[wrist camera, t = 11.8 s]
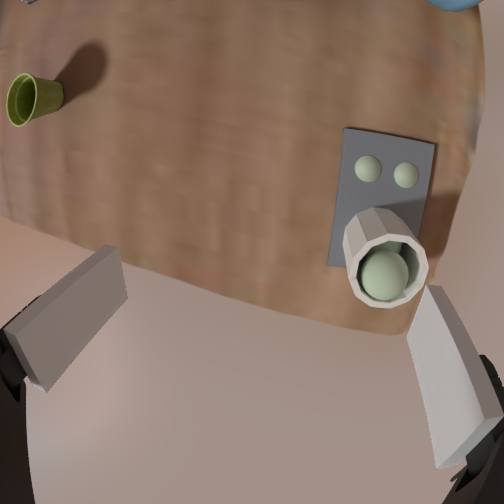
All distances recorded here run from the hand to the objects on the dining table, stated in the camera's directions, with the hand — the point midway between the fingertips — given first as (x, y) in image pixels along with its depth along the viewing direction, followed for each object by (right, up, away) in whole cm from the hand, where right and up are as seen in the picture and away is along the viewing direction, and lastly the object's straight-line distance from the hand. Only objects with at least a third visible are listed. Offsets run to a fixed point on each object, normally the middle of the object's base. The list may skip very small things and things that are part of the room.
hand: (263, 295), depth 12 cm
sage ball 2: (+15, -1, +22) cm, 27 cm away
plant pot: (-37, +30, +29) cm, 56 cm away
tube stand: (+18, +8, +28) cm, 34 cm away
